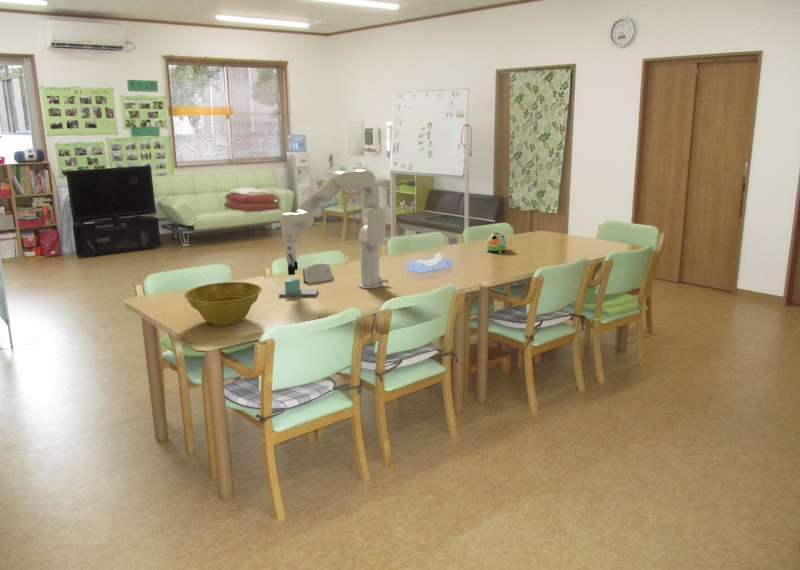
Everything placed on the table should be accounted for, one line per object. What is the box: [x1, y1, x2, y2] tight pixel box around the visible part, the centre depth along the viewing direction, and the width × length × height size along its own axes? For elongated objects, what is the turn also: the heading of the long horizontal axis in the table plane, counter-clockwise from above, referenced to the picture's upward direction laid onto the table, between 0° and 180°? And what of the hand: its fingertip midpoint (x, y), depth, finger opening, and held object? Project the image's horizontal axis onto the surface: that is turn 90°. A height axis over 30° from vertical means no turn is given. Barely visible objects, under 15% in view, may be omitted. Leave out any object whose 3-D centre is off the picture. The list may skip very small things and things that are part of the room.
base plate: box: [278, 288, 319, 298], centre depth 324 cm, size 18×10×5 cm, turn 91°
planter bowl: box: [183, 281, 263, 326], centre depth 282 cm, size 32×32×13 cm
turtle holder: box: [486, 232, 507, 254], centre depth 421 cm, size 12×18×12 cm
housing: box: [284, 277, 301, 293], centre depth 323 cm, size 6×6×6 cm
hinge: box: [302, 263, 335, 285], centre depth 351 cm, size 17×5×10 cm, turn 126°
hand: (293, 272), depth 322 cm, fingers open, 9 cm apart
